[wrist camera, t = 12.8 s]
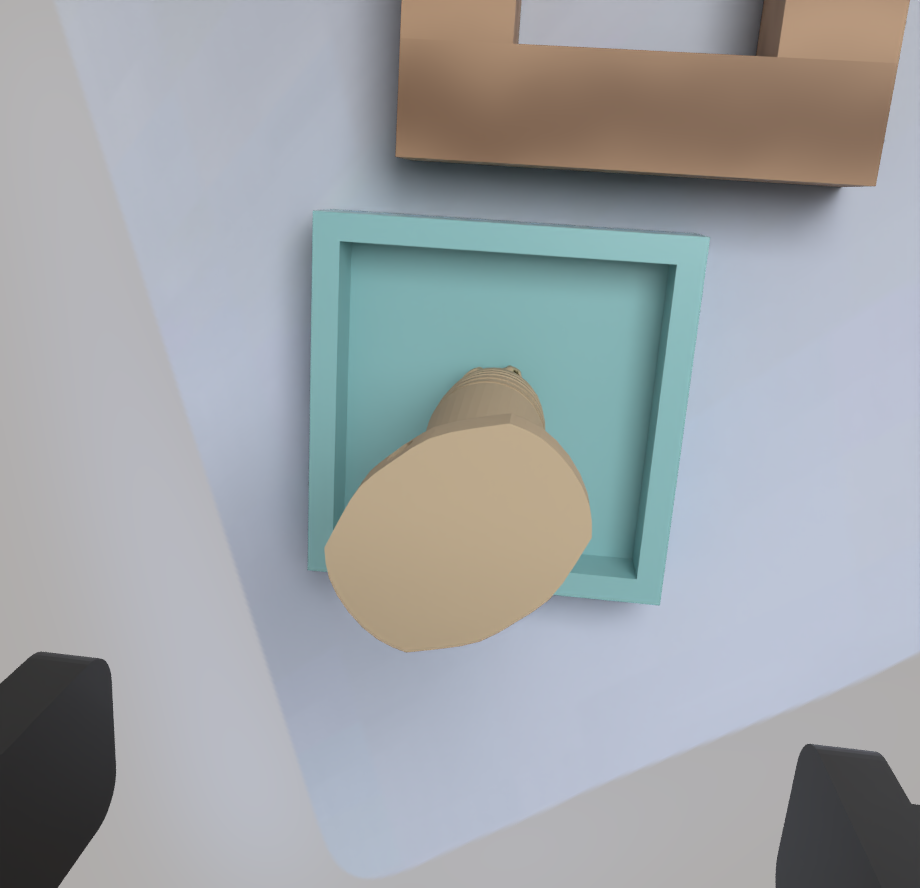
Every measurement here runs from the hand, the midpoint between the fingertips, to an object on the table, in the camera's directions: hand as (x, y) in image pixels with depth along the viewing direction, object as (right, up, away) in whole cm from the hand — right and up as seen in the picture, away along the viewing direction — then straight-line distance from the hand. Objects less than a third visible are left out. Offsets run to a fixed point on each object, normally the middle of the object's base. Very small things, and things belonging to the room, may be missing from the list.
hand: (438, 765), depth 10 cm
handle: (+2, +5, +25) cm, 25 cm away
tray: (+2, +6, +26) cm, 26 cm away
